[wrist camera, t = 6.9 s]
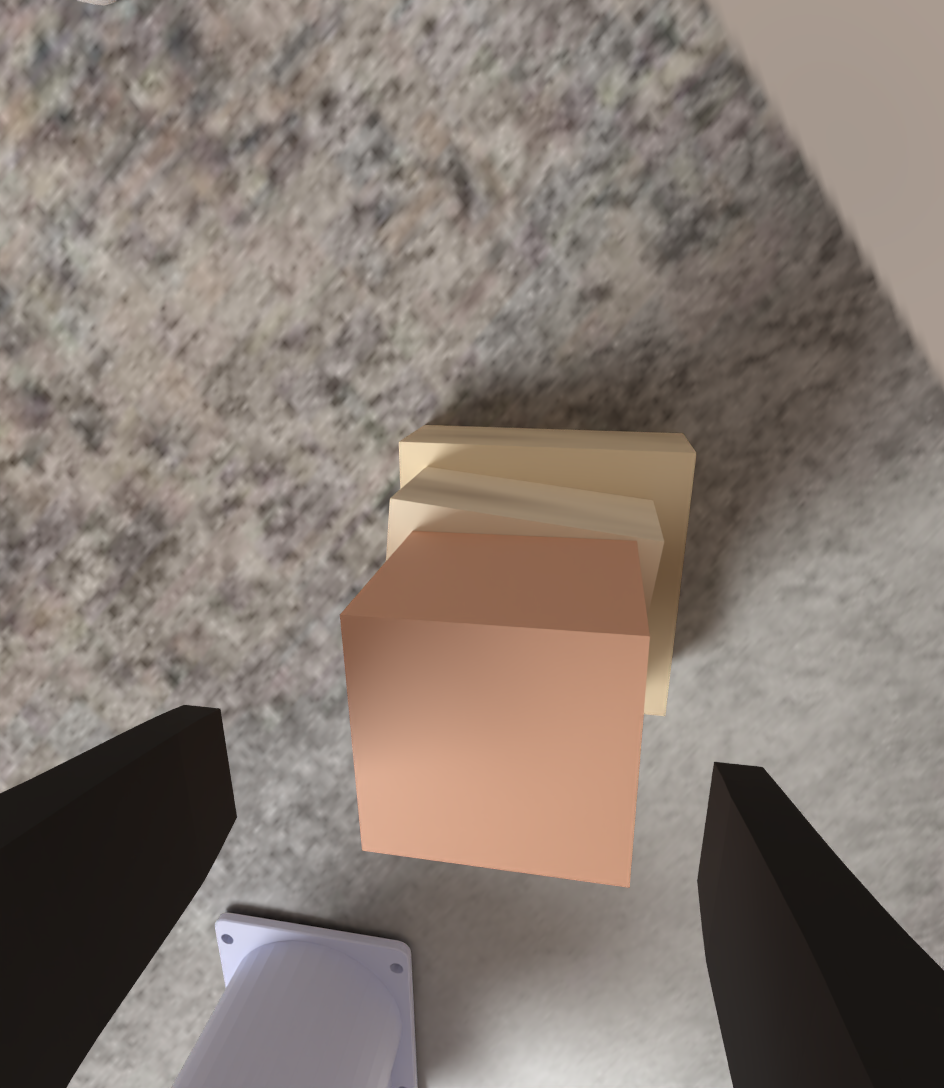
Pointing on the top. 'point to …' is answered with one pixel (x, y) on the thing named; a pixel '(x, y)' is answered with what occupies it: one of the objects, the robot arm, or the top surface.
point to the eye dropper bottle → (99, 2)
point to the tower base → (593, 465)
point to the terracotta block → (500, 702)
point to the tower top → (523, 513)
